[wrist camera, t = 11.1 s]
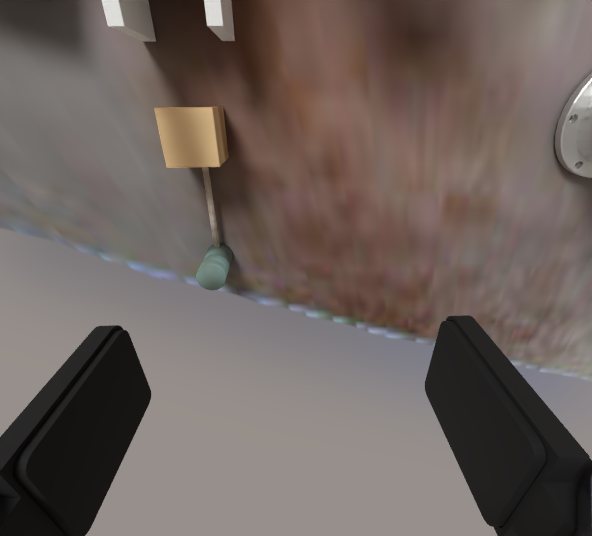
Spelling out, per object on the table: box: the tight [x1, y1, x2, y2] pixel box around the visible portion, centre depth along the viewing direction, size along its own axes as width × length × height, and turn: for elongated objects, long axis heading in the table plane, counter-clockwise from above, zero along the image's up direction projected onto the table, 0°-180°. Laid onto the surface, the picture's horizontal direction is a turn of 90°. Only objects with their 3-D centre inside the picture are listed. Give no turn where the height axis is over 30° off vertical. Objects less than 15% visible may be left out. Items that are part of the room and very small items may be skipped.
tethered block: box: [154, 107, 233, 290], centre depth 33 cm, size 5×19×6 cm, turn 1°
